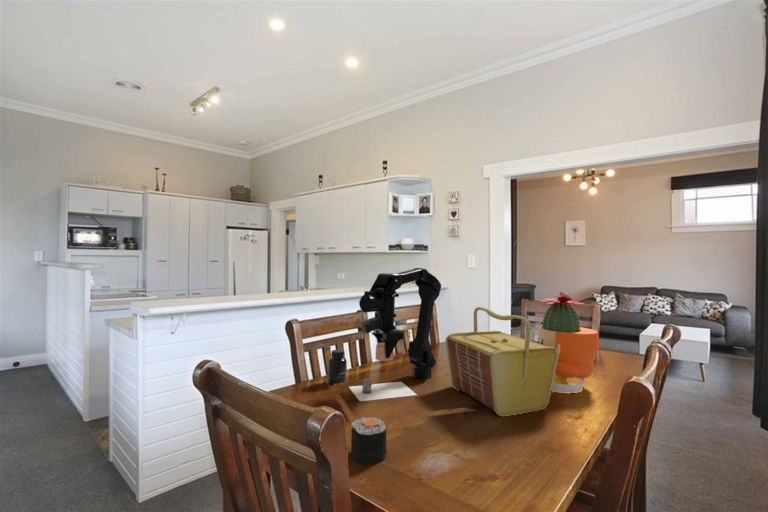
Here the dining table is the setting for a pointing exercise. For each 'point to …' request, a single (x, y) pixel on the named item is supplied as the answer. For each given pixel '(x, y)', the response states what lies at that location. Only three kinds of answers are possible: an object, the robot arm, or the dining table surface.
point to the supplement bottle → (337, 367)
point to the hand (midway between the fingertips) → (384, 355)
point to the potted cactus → (568, 342)
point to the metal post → (366, 386)
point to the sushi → (368, 440)
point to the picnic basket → (502, 368)
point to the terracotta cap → (382, 353)
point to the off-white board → (383, 391)
